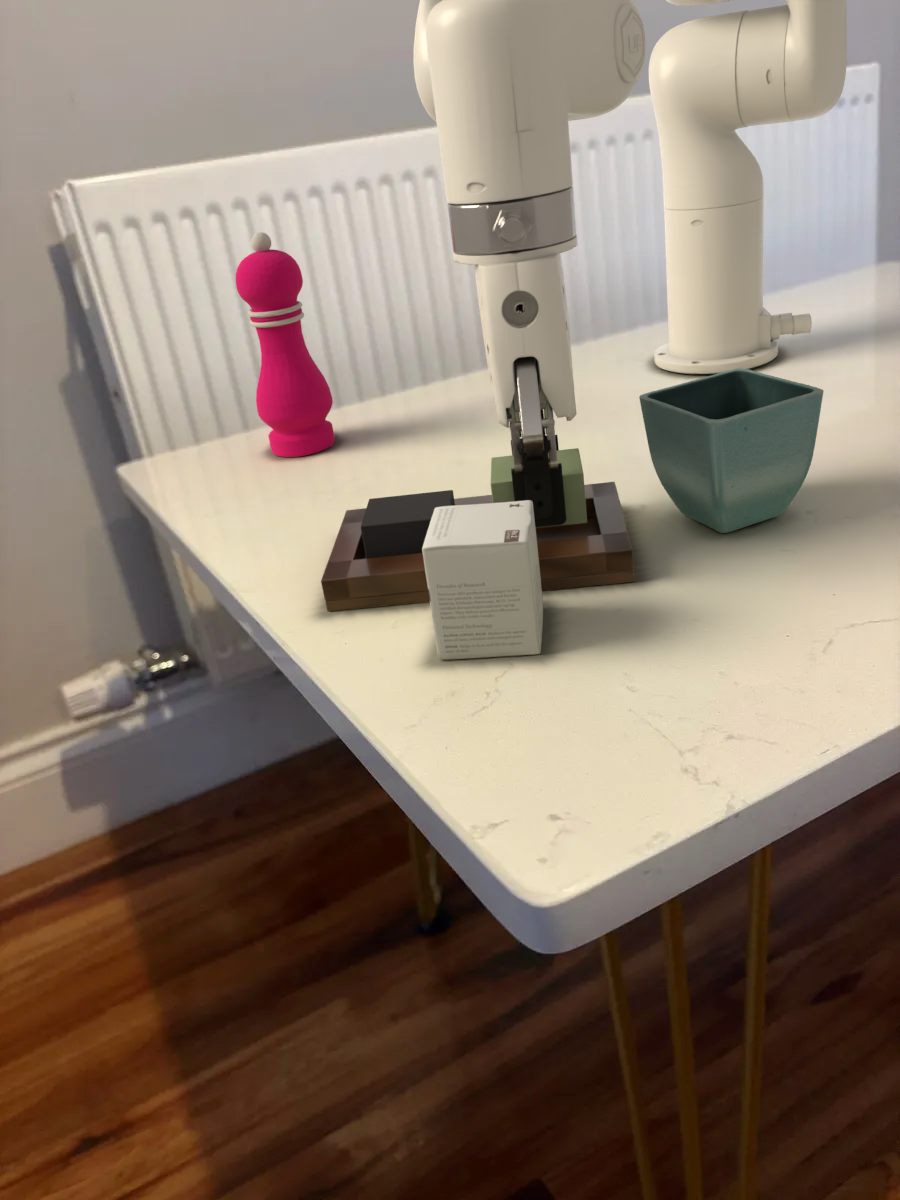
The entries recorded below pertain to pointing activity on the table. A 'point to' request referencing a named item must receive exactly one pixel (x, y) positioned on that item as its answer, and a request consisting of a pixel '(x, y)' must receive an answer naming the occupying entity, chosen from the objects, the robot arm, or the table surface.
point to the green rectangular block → (571, 483)
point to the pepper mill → (284, 354)
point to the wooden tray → (562, 552)
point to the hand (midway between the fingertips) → (540, 505)
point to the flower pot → (732, 444)
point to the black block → (400, 522)
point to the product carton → (484, 580)
